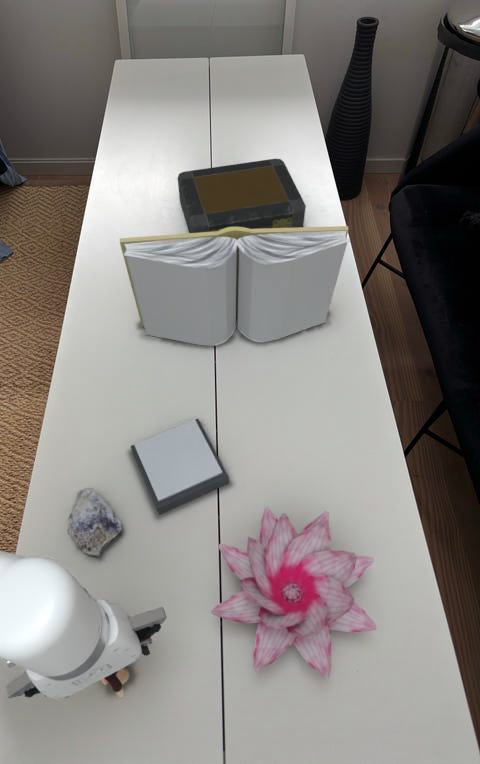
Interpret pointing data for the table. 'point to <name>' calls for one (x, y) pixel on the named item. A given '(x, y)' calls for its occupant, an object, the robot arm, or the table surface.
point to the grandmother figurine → (117, 681)
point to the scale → (179, 465)
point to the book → (234, 281)
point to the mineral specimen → (92, 522)
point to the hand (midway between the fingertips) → (105, 662)
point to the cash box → (241, 197)
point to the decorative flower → (295, 590)
